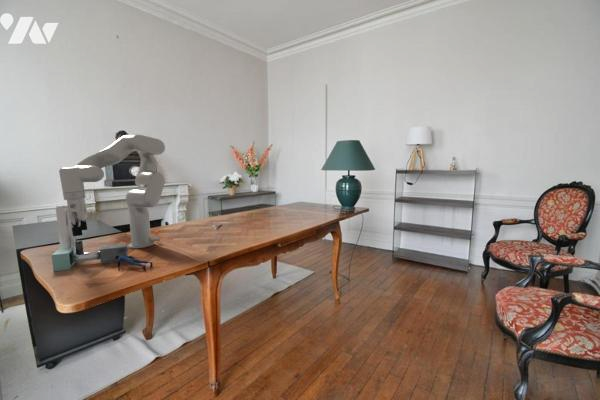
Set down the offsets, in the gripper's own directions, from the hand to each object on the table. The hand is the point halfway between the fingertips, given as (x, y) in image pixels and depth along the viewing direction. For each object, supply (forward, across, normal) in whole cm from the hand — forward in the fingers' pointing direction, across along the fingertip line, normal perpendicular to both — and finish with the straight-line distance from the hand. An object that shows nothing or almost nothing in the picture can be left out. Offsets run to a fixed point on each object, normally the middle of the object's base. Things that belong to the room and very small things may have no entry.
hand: (80, 232), depth 125 cm
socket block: (+14, -1, +7) cm, 16 cm away
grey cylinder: (+15, +21, +10) cm, 28 cm away
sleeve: (+15, -1, -12) cm, 19 cm away
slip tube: (+13, -1, -1) cm, 13 cm away
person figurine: (+15, -16, -20) cm, 29 cm away
